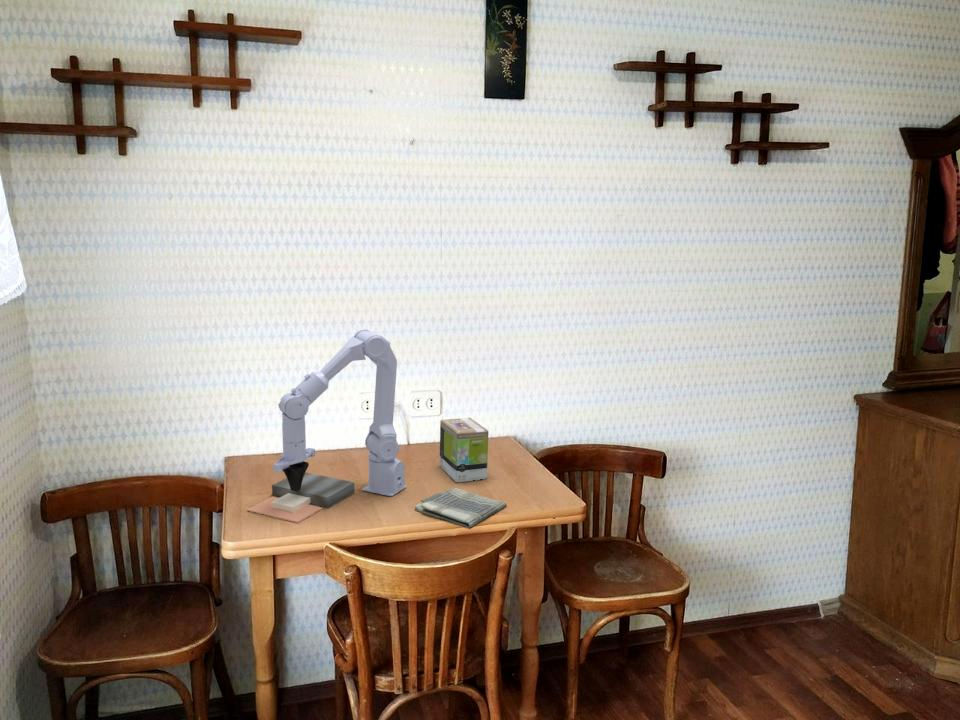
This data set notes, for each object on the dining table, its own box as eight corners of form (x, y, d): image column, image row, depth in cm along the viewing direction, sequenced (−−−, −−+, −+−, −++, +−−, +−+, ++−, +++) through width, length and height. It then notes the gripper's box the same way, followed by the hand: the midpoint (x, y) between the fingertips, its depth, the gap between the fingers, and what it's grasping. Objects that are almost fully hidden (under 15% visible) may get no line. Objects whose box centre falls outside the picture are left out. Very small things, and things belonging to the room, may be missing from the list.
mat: (322, 509, 197) (322, 507, 197) (298, 523, 188) (298, 521, 188) (272, 497, 204) (272, 496, 204) (246, 511, 195) (246, 509, 195)
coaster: (310, 503, 200) (310, 497, 199) (293, 512, 194) (293, 507, 193) (288, 498, 203) (288, 492, 202) (271, 507, 196) (271, 502, 196)
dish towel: (508, 508, 202) (509, 496, 201) (469, 531, 188) (470, 519, 187) (451, 491, 212) (452, 480, 212) (410, 512, 198) (410, 500, 197)
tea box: (488, 479, 221) (489, 430, 218) (455, 483, 217) (456, 433, 214) (469, 462, 234) (470, 415, 231) (438, 466, 231) (438, 418, 228)
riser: (354, 492, 208) (354, 482, 208) (328, 508, 198) (327, 497, 197) (300, 481, 216) (300, 471, 215) (272, 495, 205) (271, 485, 204)
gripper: (299, 430, 205) (300, 478, 207) (262, 445, 192) (264, 496, 194) (321, 434, 202) (322, 483, 204) (285, 449, 189) (287, 501, 192)
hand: (295, 490), depth 199 cm, fingers closed
